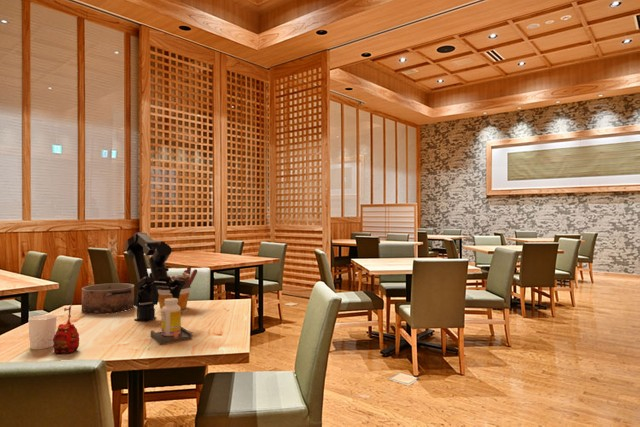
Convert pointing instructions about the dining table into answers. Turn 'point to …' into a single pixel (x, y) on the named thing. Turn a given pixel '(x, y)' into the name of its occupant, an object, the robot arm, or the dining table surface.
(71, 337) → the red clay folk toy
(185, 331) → the tray
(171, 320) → the supplement bottle
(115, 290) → the cooking pot
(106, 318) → the dining table surface
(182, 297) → the bucket of meat
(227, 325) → the dining table surface
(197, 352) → the dining table surface
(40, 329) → the white cup
